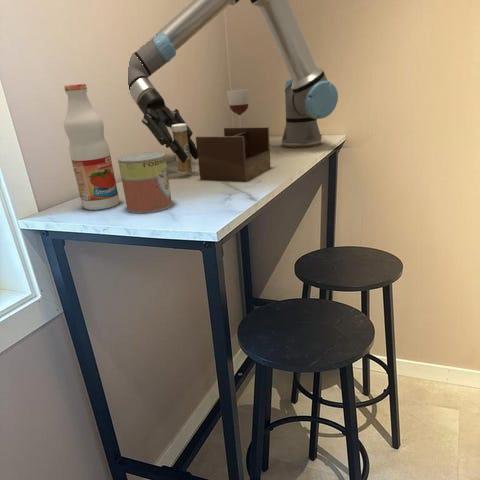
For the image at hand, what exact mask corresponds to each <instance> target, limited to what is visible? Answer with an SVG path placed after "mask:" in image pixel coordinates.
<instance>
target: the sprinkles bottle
mask: <svg viewBox="0 0 480 480" xmlns="http://www.w3.org/2000/svg"><path fill="white" fill-rule="evenodd" d="M186 124H187V123H186ZM186 124H174V125H172V126H171V128H172V129H171V128H170V129H171V132H172V139H173V140H175V139H176V141H177V142H178V144H179V145H180V146H181V148H182V149H183V150H184V152H185V153H186V154H187V156H188V157H187V159H186V161H185V163H182V162H181V160H180V159H179V157H178V156H177V155H176V153H174V155H175V160H176V165H177V172H179V173H187V172H190V171H192V170H193V168H192V161H191V154H190V150H189V145H188V137H187V125H188V124H187V125H186Z"/></svg>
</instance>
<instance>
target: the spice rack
mask: <svg viewBox="0 0 480 480" xmlns="http://www.w3.org/2000/svg"><path fill="white" fill-rule="evenodd" d="M223 134H224V135H223V136H222V135H221V136H196V137H195V146H196V148H197V154H198V158H197V161H198V171H199V179H200V181H216V182H217V181H219V182H241V183H242V182H244V183H246V182H247V181H250V180H251V179H253V178H255V177H257V176H259V175H260V174H262V173H264V172H266V171H268V170H270V169H271V145H270V144H271V143H270V127H269V126H262V127H260V126H255V127H254V126H252V127H249V126H248V127H241V128H240V127H224V128H223Z"/></svg>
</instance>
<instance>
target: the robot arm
mask: <svg viewBox="0 0 480 480" xmlns="http://www.w3.org/2000/svg"><path fill="white" fill-rule="evenodd" d="M240 1H241V0H192V1H191V2H190V3H189V4H188V5H187V6H186V7H184V8H183V9H182V10H181V11H180V12H178V14H177V15H175V16H174V17H173V18H172V19H170V21H169V22H167V23H166V24H165V25H164V26H163V27H162V28H160V29H159V30H158V31H157V32H158V33H157V32H156V33H157V34H156V33H155V34H156V36H154V35H153V36H154V37H153V36H152V37H153V38H152V37H151V38H152V39H151V38H150V39H151V40H150V39H149V40H150V41H148V40H147V41H148V42H147V41H146V42H147V43H146V42H145V43H146V44H145V45H143V44H142V45H143V46H142V45H141V46H142V47H141V46H140V47H139V49H138V50H136V51H134V52H133V53H131V55H132V56H131V58H130V61H129V67H128V85H129V90H130V94H131V96H132V97H131V96H130V97H131V99H132V101H134V103H135V104H136V106H137V107H138V109H139V110H140V111H141V112H142V114H143V117H142V119H141V123H142V124H143V125H145V126H146V127H147V129H148V130H149V131H150V132H151V134H152V135H153V137H154V138H155V139H156V140H157V142H158V144H160V145H161V146H165V148H167V149H170V150H171V152H172V153H173V154H175V153H176V154H175V156H176V155H177V156H178V157H179V159H180V160H181V162H182V163H185V161H186V159H187V157H188V156H187V154H186V153H185V152H184V150H183V149H182V148H181V146H180V145H179V144H178V142H177V141H176V139H175V140H174V138H173V136H172V135H171V133H170V131H169V129H171V130H172V128H171V126H172V125H174V124H186V125H187V137H188V145H189V150H190V156H191V157H192V158H193V159H194V160H198V154H197V146H196V143H195V142H194V141H193V140H192V138H191V137H192V135H193V134H194V133H193V131H192V129H191V128H190V127H189V125H188V124H187V123H186V121H185V120H184V118H183V117H182V115H181V113H180V112H179V109H177V108H175V109H174V110H171V109H170V108H169V107H167V106H166V103H165V99H164V98H163V96H162V95H161V93H160V92H159V91H158V90H157V88H156V86H154V84H153V82H151V80H150V79H149V77H151V76H152V75H153V74H154V73H156V72H157V71H158V70H160V69H161V68H162V67H163V66H165V65H166V64H168V63H169V62H170V61H172V59H174V58H175V57H176V56H177V51H178V50H179V49H180V48H181V47H182V46H183V45H185V44H186V43H187V42H188V41H189V40H190V39H192V38H193V37H194V36H195V35H196V34H197V33H199V31H201V30H202V29H203V28H205V27H206V26H207V25H208V24H209V23H210V22H212V20H214V19H215V18H216V17H217V16H218V15H220V13H221V12H223V11H224V10H225V9H226V8H228V6H235V5H236V4H237V3H238V2H240ZM249 1H250V3H251V5H252V6H255V7H258V8H259V10H260V12H261V14H262V17H263V19H264V21H265V23H266V26H267V28H268V29H269V30H268V31H269V32H270V34H271V36H272V39H273V40H274V43H275V45H276V47H277V49H278V51H279V53H280V56H281V57H282V60H283V62H284V65H285V66H286V69H287V71H288V73H289V75H290V77H291V78H289V79H287V80H286V81H285V85H284V96H285V98H284V101H285V103H284V104H285V127H284V130H283V132H282V135H281V137H282V138H281V146H282V147H284V148H290V149H291V148H293V149H294V148H295V149H296V148H299V149H300V148H310V147H316V146H320V145H322V135H323V134H321V132H320V129H319V125H318V120H320V119H325V118H327V117H329V116H330V115H331V114H333V112H334V111H335V109H336V107H337V105H338V104H337V103H338V102H339V101H338V100H339V93H338V89H337V86H335V84H333V82H331V81H329V80H328V78H327V76H326V74H325V71H324V69H323V68H322V67H318V66H317V65H316V63H315V60H314V58H313V55H312V53H311V51H310V49H309V45H308V44H307V42H306V39H305V37H304V35H303V32H302V30H301V27H300V25H299V23H298V21H297V19H296V16H295V14H294V11H293V8H292V7H291V4H290V1H289V0H249ZM137 57H138V58H137ZM140 61H141V62H140ZM142 64H143V65H142ZM130 87H131V88H130ZM168 128H169V129H168Z"/></svg>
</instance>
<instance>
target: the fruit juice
mask: <svg viewBox="0 0 480 480" xmlns="http://www.w3.org/2000/svg"><path fill="white" fill-rule="evenodd" d="M63 87H64V92H65V94H66V96H67V111H66V116H65V118H64V121H63V128H64V132H65V135H66V136H67V138H68V141H69V145H68V150H69V156H70V160H71V164H72V168H73V172H74V175H75V181H76V185H77V189H78V194H79V197H80V202H81V205H82V206H83V208H84V209H85V210H88V211H89V210H90V211H94V210H95V211H97V210H105V209H110V208H114V207H115V206H118V205H119V203H120V197H119V190H118V186H117V181H116V176H115V171H114V166H113V162H112V157H111V151H110V147H109V144H108V142H107V140H106V139H105V125H104V122H103V121H104V120H103V119H102V117H101V116H100V115H99V114H98V112H96V110H95V108H94V107H93V105H92V103H91V101H90V99H89V98H88V97H89V96H88V94H87V93H88V87H87V85H86V83H80V84H79V83H78V84H67V85H64V86H63Z"/></svg>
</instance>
